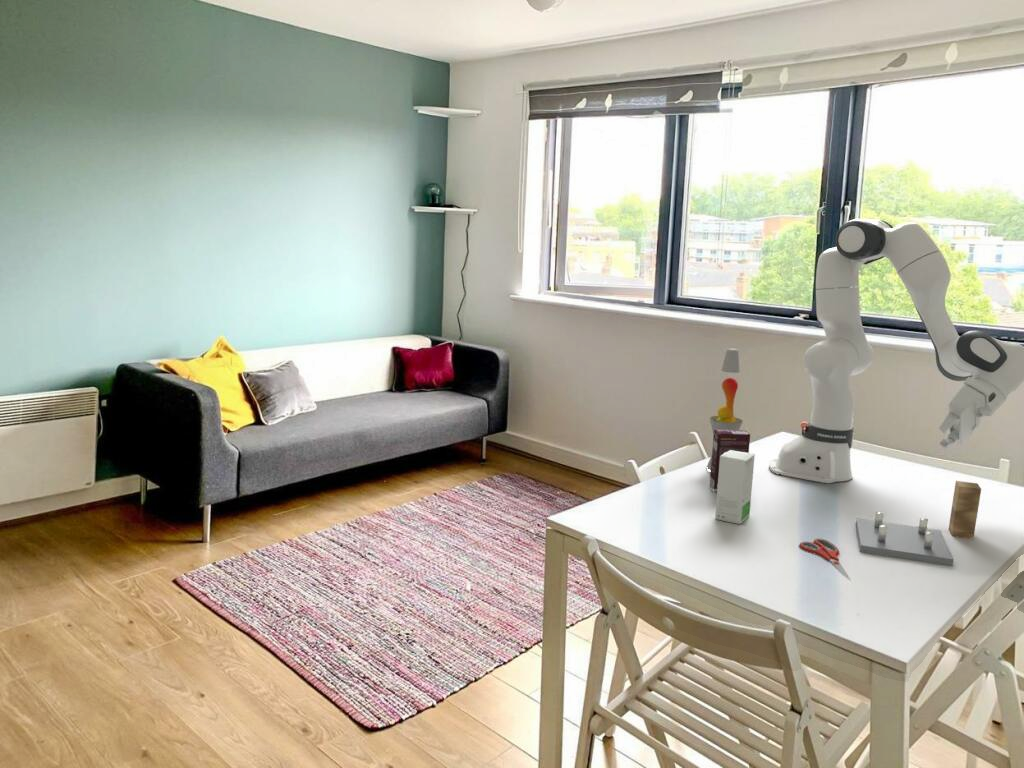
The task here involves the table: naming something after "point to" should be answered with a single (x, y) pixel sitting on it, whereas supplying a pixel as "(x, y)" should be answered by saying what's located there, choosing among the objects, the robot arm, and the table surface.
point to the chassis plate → (902, 542)
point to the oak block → (964, 509)
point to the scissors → (825, 553)
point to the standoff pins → (921, 531)
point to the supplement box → (726, 449)
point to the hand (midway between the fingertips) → (941, 439)
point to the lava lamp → (727, 397)
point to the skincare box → (734, 486)
